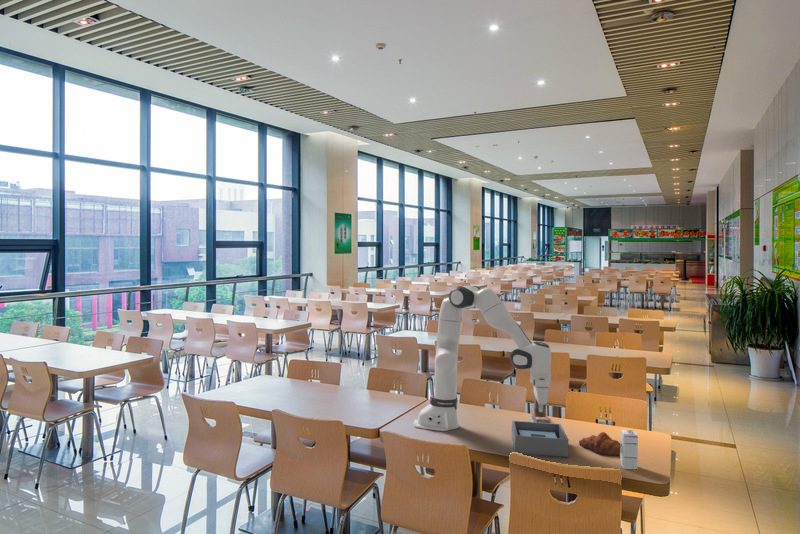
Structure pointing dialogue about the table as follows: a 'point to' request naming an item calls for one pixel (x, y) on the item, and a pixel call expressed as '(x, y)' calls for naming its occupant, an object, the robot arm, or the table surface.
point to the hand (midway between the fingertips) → (539, 409)
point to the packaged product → (539, 419)
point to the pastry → (601, 444)
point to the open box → (539, 439)
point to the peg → (536, 412)
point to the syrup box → (629, 449)
